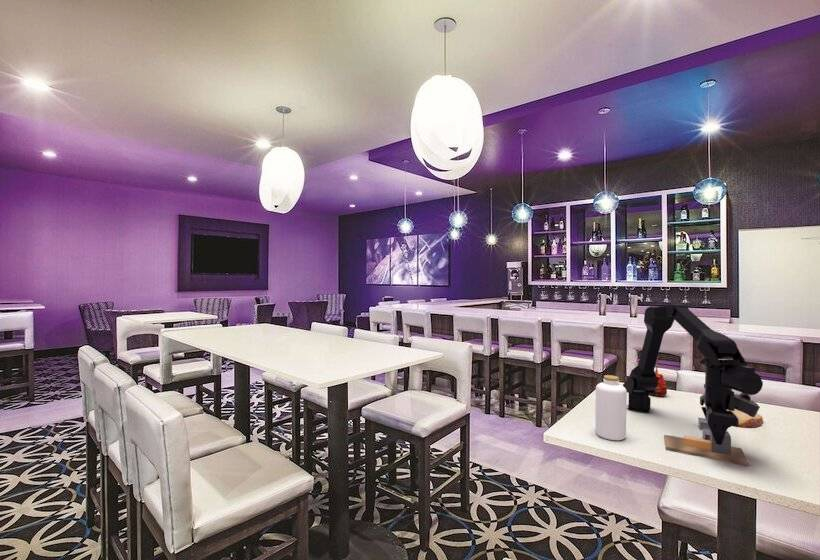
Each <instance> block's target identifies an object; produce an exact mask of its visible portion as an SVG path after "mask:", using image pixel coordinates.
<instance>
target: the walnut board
mask: <svg viewBox="0 0 820 560" xmlns="http://www.w3.org/2000/svg"><path fill="white" fill-rule="evenodd" d="M663 438H664V446H665V450H666V451H669V452H675V453H681V454H685V455H691V456H696V457H701V458H705V457H706V458H707V459H710V458H711V460H715V461H716V460H717V461H722V462H726V463H732V464H737V465H742V466H748V467H750V461H749V459H748V457H747V456H746V454H745V452H744V451H743V449H742V448H741V447H736V446H731V455H727V454H721V453H716V452H712V451H711V450H706V449H701V448H696V447H690V446H685V445H684V437H681V436H673V435H669V434H663Z"/></svg>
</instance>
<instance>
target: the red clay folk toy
mask: <svg viewBox="0 0 820 560" xmlns="http://www.w3.org/2000/svg"><path fill="white" fill-rule="evenodd" d="M658 361H659V359H657V361H656V365H655V370H654V371H655V373H656V375H657V377H659V380H658V383H657V387H656V388H655V392H654V394H649V396H655V397H657V398H664V397H665V396H666V395H667V394H668V389H667V388H668V387H667V381H666V380H665V377H664V376H663V375H664V374H661V373H659V372H658V369H659V368H658Z"/></svg>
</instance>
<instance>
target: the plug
mask: <svg viewBox="0 0 820 560" xmlns="http://www.w3.org/2000/svg"><path fill="white" fill-rule="evenodd" d="M683 438H684V445H685V446H690V447H696V448H701V449H706V450H711V451H712V452H716V453H721V454H727V455H731V447H732V437H731V434H730V432H729V431H728V430H727V431H726V434H725V436H724V439H723V442H722V444H721V445H719V444H716V442H715V439H714V437H713V434H712V432H711V430H710V440H704V439H703V438H700V437H699V438H698V437H697V438H696V437H692V436H687V435H684V436H683Z"/></svg>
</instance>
